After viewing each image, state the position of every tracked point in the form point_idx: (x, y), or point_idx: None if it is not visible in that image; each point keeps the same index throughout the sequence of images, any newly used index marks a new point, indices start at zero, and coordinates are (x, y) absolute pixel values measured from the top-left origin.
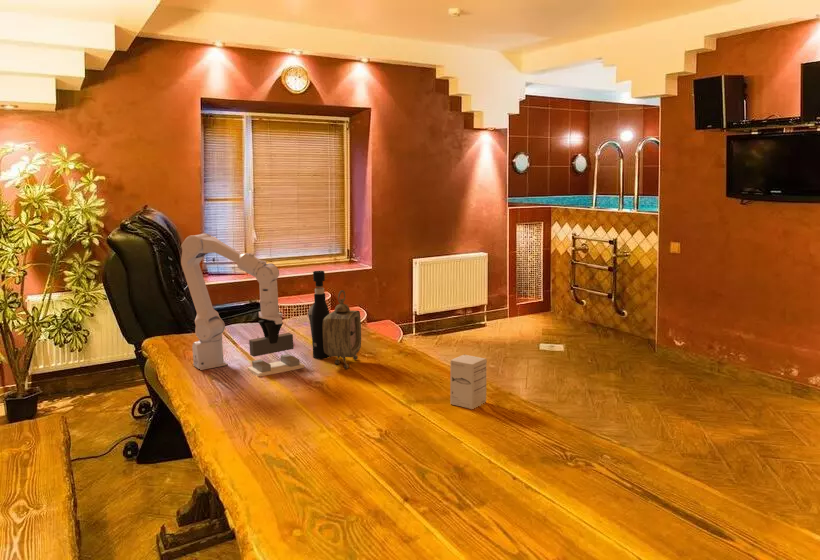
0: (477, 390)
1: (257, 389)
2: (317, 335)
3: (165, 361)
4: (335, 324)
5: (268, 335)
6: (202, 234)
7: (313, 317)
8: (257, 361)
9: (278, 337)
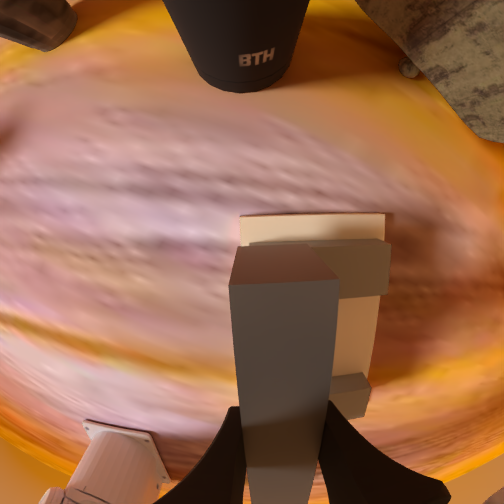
0: None
1: (442, 413)
2: (291, 11)
3: (65, 470)
4: None
5: (245, 459)
6: None
7: None
8: None
9: (325, 410)
